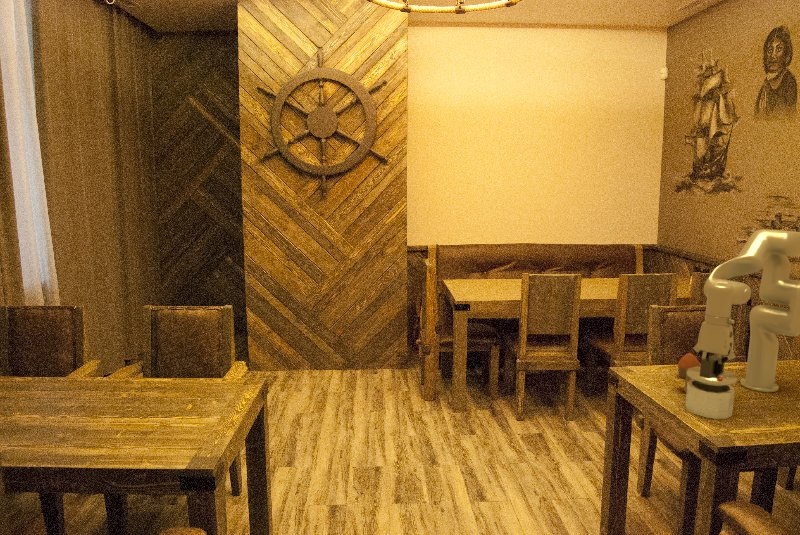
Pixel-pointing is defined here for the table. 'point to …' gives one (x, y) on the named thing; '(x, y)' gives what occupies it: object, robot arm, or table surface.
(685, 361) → the mushroom
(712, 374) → the lid
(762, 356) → the robot arm
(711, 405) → the pot
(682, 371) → the vase
